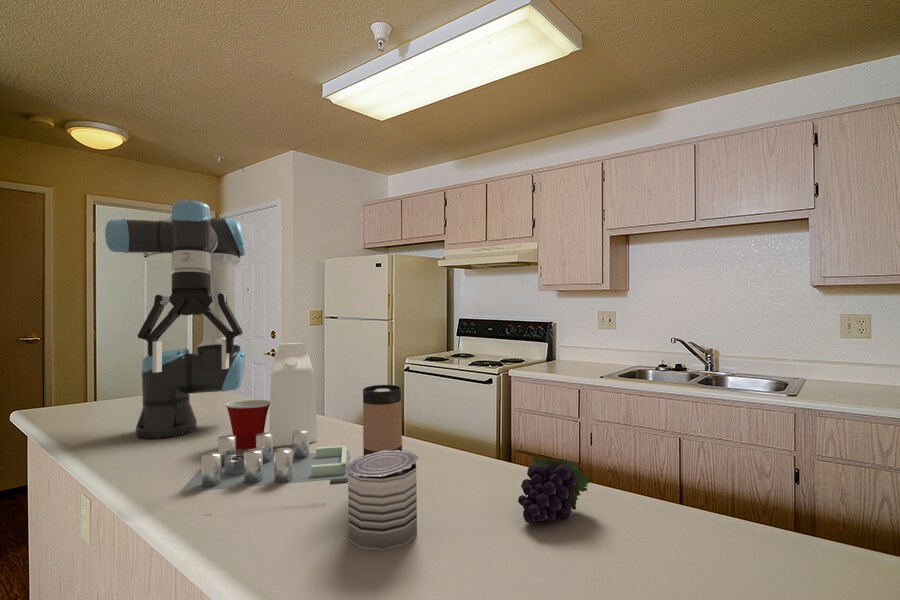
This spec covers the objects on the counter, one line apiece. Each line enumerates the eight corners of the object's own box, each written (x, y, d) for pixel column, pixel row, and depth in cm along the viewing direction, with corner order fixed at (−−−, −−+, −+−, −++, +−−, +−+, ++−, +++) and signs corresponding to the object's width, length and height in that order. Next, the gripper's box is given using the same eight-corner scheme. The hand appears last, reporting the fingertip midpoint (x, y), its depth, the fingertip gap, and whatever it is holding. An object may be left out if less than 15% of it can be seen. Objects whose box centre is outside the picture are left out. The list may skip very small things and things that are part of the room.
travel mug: (408, 483, 97) (407, 385, 97) (392, 498, 90) (390, 393, 90) (375, 479, 100) (374, 383, 100) (356, 493, 93) (355, 390, 92)
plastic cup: (281, 444, 124) (280, 398, 124) (247, 457, 114) (246, 407, 114) (251, 439, 128) (250, 395, 128) (216, 452, 119) (215, 404, 118)
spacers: (222, 459, 110) (222, 434, 110) (310, 453, 114) (309, 428, 114) (197, 490, 93) (197, 459, 93) (301, 481, 97) (301, 452, 97)
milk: (314, 432, 135) (313, 340, 134) (318, 444, 124) (316, 344, 123) (269, 437, 130) (267, 342, 130) (268, 450, 120) (266, 346, 119)
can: (408, 555, 70) (407, 474, 70) (335, 548, 72) (334, 470, 72) (425, 519, 82) (424, 449, 82) (362, 514, 84) (361, 446, 84)
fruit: (515, 540, 80) (551, 489, 92) (572, 549, 74) (603, 493, 85) (497, 485, 79) (536, 440, 91) (554, 490, 73) (588, 441, 84)
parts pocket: (316, 456, 112) (316, 447, 112) (346, 453, 114) (346, 445, 114) (311, 476, 99) (311, 466, 99) (345, 473, 101) (345, 464, 101)
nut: (229, 468, 105) (229, 454, 105) (251, 466, 106) (250, 452, 106) (223, 477, 100) (222, 462, 100) (245, 475, 101) (245, 460, 101)
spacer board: (207, 464, 110) (207, 460, 110) (349, 453, 116) (349, 450, 116) (179, 496, 92) (179, 492, 92) (347, 481, 98) (347, 477, 98)
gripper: (119, 271, 98) (118, 375, 97) (247, 269, 102) (249, 368, 101) (136, 275, 105) (136, 372, 104) (255, 273, 110) (256, 366, 108)
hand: (191, 370), depth 102 cm, fingers open, 13 cm apart
